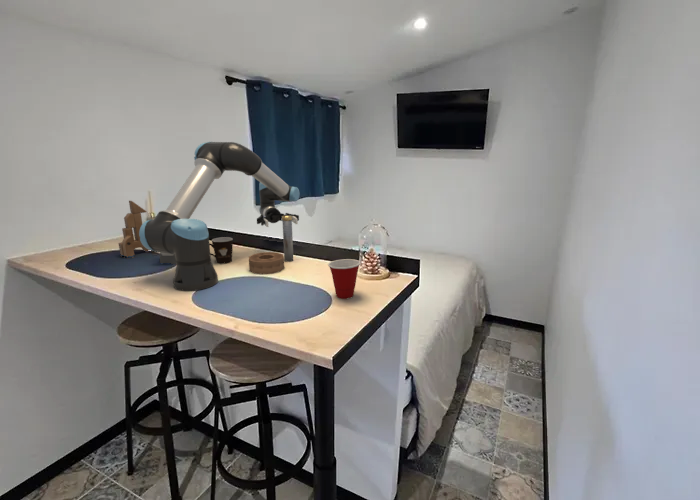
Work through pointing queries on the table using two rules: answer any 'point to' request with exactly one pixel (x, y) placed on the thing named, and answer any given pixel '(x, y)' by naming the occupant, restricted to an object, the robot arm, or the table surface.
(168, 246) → the robot arm
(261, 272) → the brown thick ring
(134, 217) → the wooden toy
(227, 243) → the coffee mug
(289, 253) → the metal rod
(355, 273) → the plastic cup
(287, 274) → the table surface
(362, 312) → the table surface
